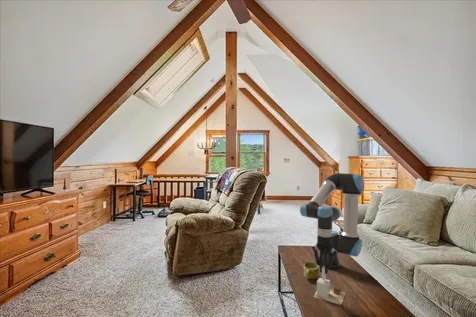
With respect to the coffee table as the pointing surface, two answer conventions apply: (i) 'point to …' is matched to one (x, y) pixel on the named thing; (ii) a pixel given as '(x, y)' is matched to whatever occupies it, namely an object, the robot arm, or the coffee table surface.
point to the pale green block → (323, 288)
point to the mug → (311, 270)
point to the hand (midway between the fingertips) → (323, 278)
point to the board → (334, 295)
